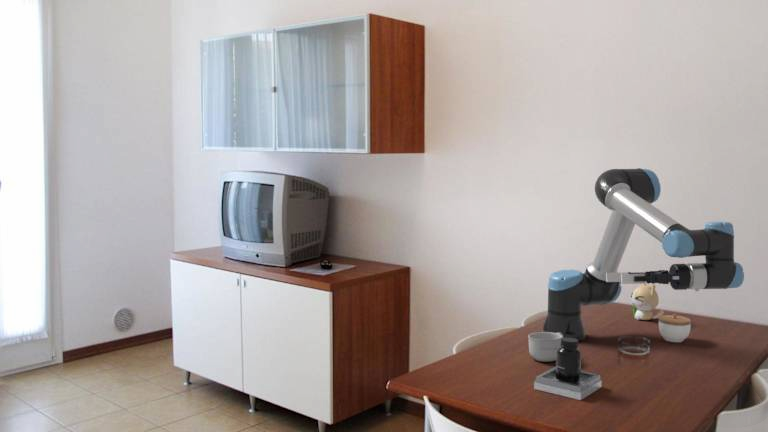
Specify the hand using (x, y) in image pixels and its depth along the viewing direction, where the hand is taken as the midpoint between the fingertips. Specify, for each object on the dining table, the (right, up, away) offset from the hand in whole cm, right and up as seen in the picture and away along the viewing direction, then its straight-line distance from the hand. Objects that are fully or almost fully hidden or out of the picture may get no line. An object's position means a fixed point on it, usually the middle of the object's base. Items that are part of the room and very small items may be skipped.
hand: (613, 278), depth 211 cm
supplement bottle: (-14, -29, -4) cm, 33 cm away
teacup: (-14, -28, +23) cm, 39 cm away
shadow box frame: (-15, -31, -4) cm, 34 cm away
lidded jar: (+36, -26, +46) cm, 64 cm away
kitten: (+36, -23, +76) cm, 87 cm away
